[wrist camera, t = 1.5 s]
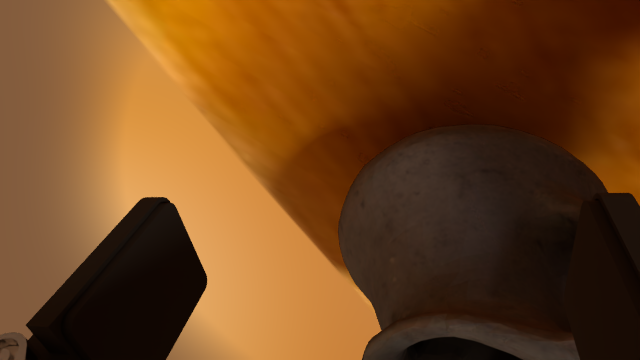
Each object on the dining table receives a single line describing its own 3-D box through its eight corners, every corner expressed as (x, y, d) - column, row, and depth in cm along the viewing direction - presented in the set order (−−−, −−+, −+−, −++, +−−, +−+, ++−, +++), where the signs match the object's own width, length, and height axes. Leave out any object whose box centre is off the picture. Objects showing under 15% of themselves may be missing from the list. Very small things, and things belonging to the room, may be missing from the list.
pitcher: (319, 182, 46) (231, 414, 26) (461, 7, 33) (499, 202, 14) (468, 277, 49) (489, 549, 29) (650, 151, 37) (904, 479, 17)
